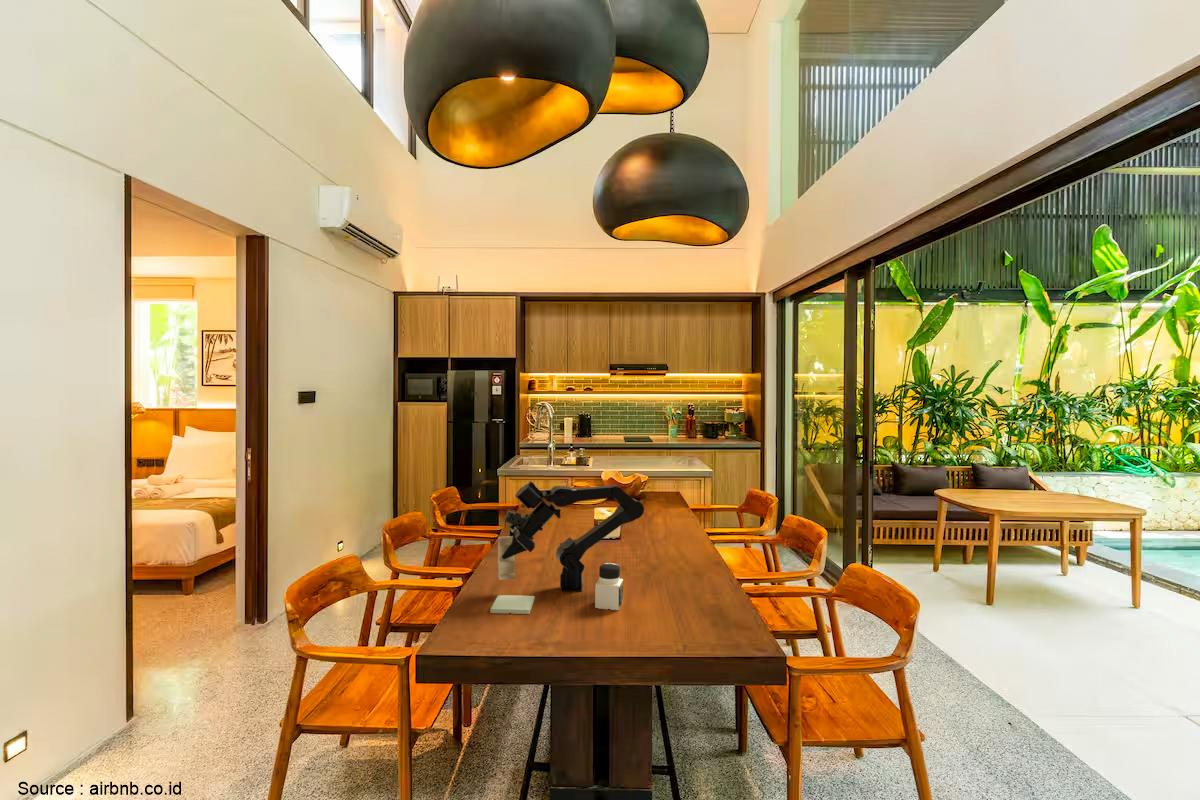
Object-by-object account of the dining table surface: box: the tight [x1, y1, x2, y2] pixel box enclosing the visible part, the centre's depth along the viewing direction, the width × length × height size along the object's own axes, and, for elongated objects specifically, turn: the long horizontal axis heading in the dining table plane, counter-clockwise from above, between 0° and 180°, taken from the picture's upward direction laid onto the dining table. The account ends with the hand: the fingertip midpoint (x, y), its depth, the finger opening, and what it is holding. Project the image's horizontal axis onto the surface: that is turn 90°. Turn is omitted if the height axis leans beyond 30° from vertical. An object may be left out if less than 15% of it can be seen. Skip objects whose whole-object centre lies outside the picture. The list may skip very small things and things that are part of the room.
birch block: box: [497, 535, 516, 581], centre depth 179 cm, size 5×5×12 cm
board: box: [489, 594, 536, 615], centre depth 169 cm, size 11×11×1 cm
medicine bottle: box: [594, 562, 624, 611], centre depth 170 cm, size 7×7×12 cm
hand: (501, 555), depth 178 cm, fingers closed on birch block, 5 cm apart
